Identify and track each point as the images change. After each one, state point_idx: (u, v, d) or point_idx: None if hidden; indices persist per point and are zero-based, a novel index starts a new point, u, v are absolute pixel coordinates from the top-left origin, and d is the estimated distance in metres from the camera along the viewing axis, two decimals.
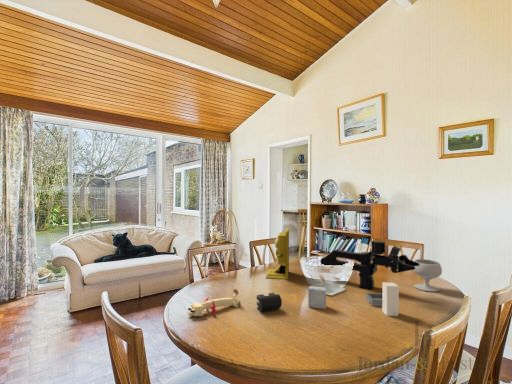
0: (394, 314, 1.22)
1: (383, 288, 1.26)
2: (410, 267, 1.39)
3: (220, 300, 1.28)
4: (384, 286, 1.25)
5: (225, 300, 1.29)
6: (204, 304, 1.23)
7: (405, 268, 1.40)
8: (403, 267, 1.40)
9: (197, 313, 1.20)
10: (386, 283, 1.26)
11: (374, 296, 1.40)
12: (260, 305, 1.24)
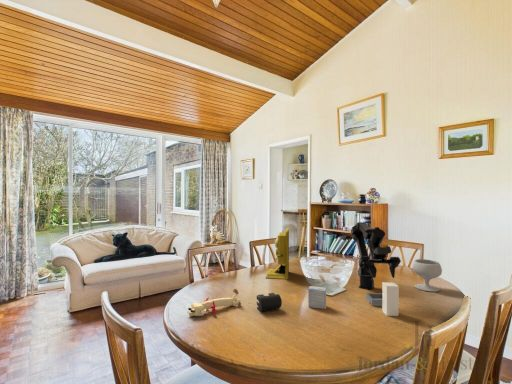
0: (394, 314, 1.22)
1: (383, 288, 1.26)
2: (371, 273, 1.34)
3: (220, 300, 1.28)
4: (384, 286, 1.25)
5: (225, 300, 1.29)
6: (204, 304, 1.23)
7: (368, 270, 1.37)
8: (368, 268, 1.37)
9: (197, 313, 1.20)
10: (386, 283, 1.26)
11: (374, 296, 1.40)
12: (260, 305, 1.24)
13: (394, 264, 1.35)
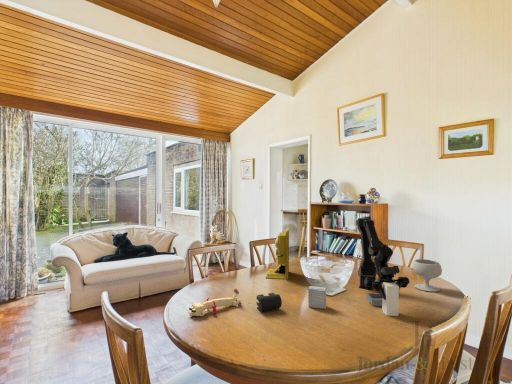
0: (394, 314, 1.22)
1: (383, 288, 1.26)
2: (382, 295, 1.25)
3: (221, 300, 1.28)
4: (384, 286, 1.25)
5: (226, 300, 1.30)
6: (205, 304, 1.24)
7: (379, 291, 1.27)
8: (379, 289, 1.27)
9: (198, 313, 1.20)
10: (386, 283, 1.26)
11: (374, 296, 1.40)
12: (260, 305, 1.24)
13: (398, 285, 1.26)
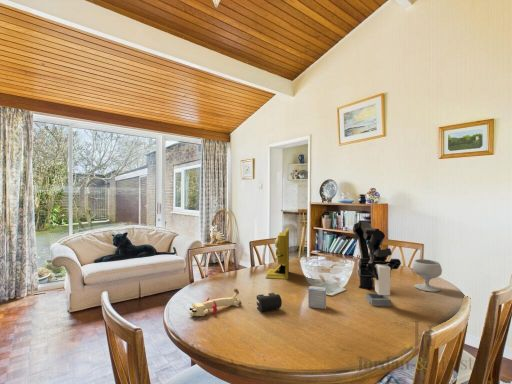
0: (386, 293, 1.30)
1: (376, 269, 1.34)
2: (375, 275, 1.33)
3: (221, 300, 1.28)
4: (377, 267, 1.33)
5: (226, 300, 1.30)
6: (205, 304, 1.23)
7: (372, 272, 1.35)
8: (372, 270, 1.35)
9: (199, 313, 1.20)
10: (379, 265, 1.33)
11: (374, 296, 1.40)
12: (260, 305, 1.24)
13: (390, 266, 1.33)
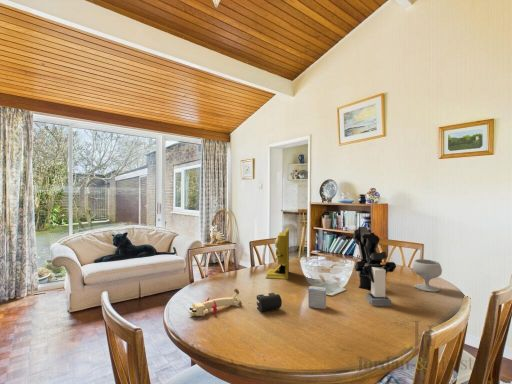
0: (381, 295, 1.34)
1: (372, 272, 1.38)
2: (371, 278, 1.37)
3: (221, 300, 1.28)
4: (373, 270, 1.37)
5: (226, 300, 1.30)
6: (205, 304, 1.24)
7: (368, 275, 1.39)
8: (368, 273, 1.40)
9: (199, 313, 1.20)
10: (374, 267, 1.38)
11: None
12: (260, 305, 1.24)
13: (385, 269, 1.38)
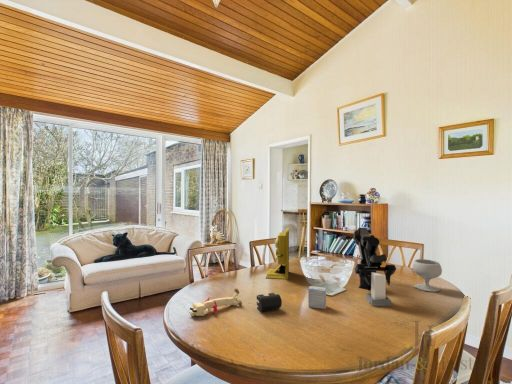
0: None
1: (372, 277, 1.38)
2: (367, 280, 1.37)
3: (221, 299, 1.29)
4: (372, 275, 1.37)
5: (226, 299, 1.30)
6: (206, 304, 1.24)
7: (364, 277, 1.39)
8: (364, 275, 1.40)
9: (199, 313, 1.20)
10: (374, 273, 1.38)
11: None
12: (260, 305, 1.24)
13: (389, 272, 1.38)
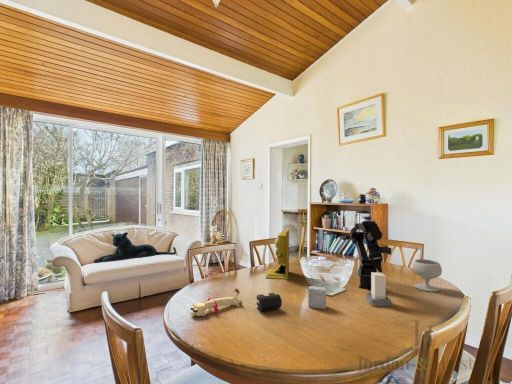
0: None
1: (372, 277, 1.38)
2: (379, 269, 1.41)
3: (222, 299, 1.29)
4: (372, 275, 1.37)
5: (227, 299, 1.30)
6: (206, 304, 1.24)
7: (376, 265, 1.42)
8: (377, 263, 1.42)
9: (200, 313, 1.20)
10: (374, 273, 1.38)
11: None
12: (260, 305, 1.24)
13: (381, 261, 1.52)
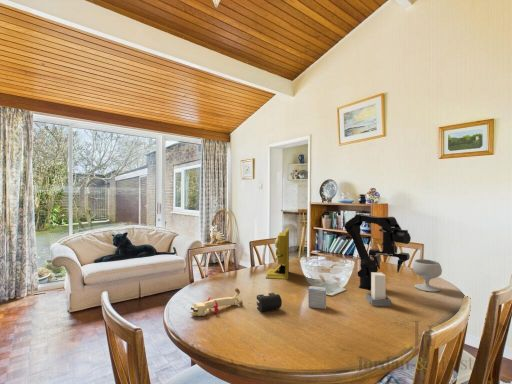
0: None
1: (372, 277, 1.38)
2: (399, 268, 1.43)
3: (222, 299, 1.29)
4: (372, 275, 1.37)
5: (227, 299, 1.30)
6: (206, 303, 1.24)
7: (400, 265, 1.41)
8: (400, 263, 1.42)
9: (200, 312, 1.20)
10: (374, 273, 1.38)
11: None
12: (260, 305, 1.24)
13: None
